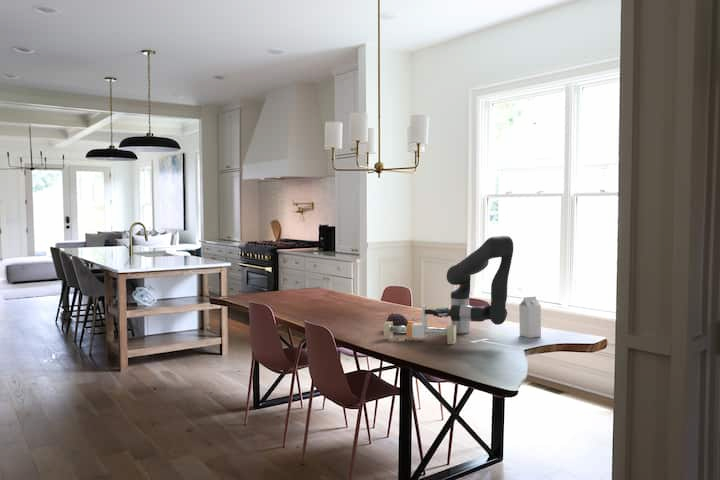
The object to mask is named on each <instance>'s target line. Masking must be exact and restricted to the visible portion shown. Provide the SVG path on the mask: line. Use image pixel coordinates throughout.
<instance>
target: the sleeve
mask: <svg viewBox="0 0 720 480" xmlns="http://www.w3.org/2000/svg"><path fill="white" fill-rule="evenodd" d="M427 307H428V305H427V304H423V305H421V322H415V323H414V324H412V338H413V339H426V338H427V337H428V334H425V328H428V314H425V310H426V309H428V308H427Z"/></svg>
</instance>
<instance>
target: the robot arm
mask: <svg viewBox="0 0 720 480" xmlns="http://www.w3.org/2000/svg"><path fill="white" fill-rule="evenodd" d="M513 241H514V240H513V239H512V238H511V237H510V236H509V235H497V236H492V237H489V238H487V239H486V240H485V241H484V243H482V245H481V246H480V247H478V248H477V249H475V250H474V251H473V252H471V253H470V254H469V255H468V256H466V257H465V258H464V259H462V260H461V261H460V262H458V263H457V264H455V265H453V266H450V267H449V268H448V270H447V272H446V281H447V282H448V283H449V284H450V285H453V286H457V285H459V287H458V288H457V289H455V290H453V291H451V293H450V308H449V307H440V308H438V307H437V308H434V309H433V308H432V309H431V308H430V309H428V308H427V309H426V310H425V314H427V315H429V316H430V315H432V316H433V317H437V318H448V317H450V325H456V334H469V333H471V332H470V331H471V330H470V329H471V325H470V324H471V322H478V323H481V322H482V323H483V322H485V321H486V320H487V321H488V320H490V321H491V323H492V324H494V325H502V324H503V323H505V321H506V319H507V316H508V309H506V304H507V298H508V280H509V276H510V271H511V264H512V260H513V255H514V242H513ZM495 258H496V259H497V258H500V263H499V267H498V269H497V271H496V272H495V274H494V276H493V278H492V280H491V284H490V305H484V306H480V305H470V294H471V281H472V280H471V276H472V275H475V274H478V273H480V272H482V271H484V270H485V269H486V268H487V266H488V265H489V260H491V259H495Z"/></svg>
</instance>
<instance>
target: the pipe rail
mask: <svg viewBox="0 0 720 480" xmlns="http://www.w3.org/2000/svg"><path fill="white" fill-rule="evenodd" d="M406 328H407V326H393V322H388V321H387V322H386V321H385V322H384V323H383V339H384V338H386V339H390V338H392V337H393V338H394V333H399V334H400V333H401V334H406ZM425 334H427V335H438V336H447V337H446V338H447V339H446V340H447V344H448V345H455V344H456V343H457V333H456V325H451V324H449V325H448V326H446V328H444V327H442V328H440V327H427V328H425ZM393 338H392V339H393Z"/></svg>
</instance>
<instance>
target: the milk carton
mask: <svg viewBox="0 0 720 480" xmlns="http://www.w3.org/2000/svg"><path fill="white" fill-rule="evenodd" d="M518 305H519V306H518V307H519V308H518V309H519V311H518V312H519V336H521V337H524V338H527V339H530V338H539V337H541V336H542V318H541V317H542V313H541V312H542V307H541V304H540V302H539V301H538V300H537V296H527V297H526V296H525V297H523V300H522V301H521V303H520V304H518Z"/></svg>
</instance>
